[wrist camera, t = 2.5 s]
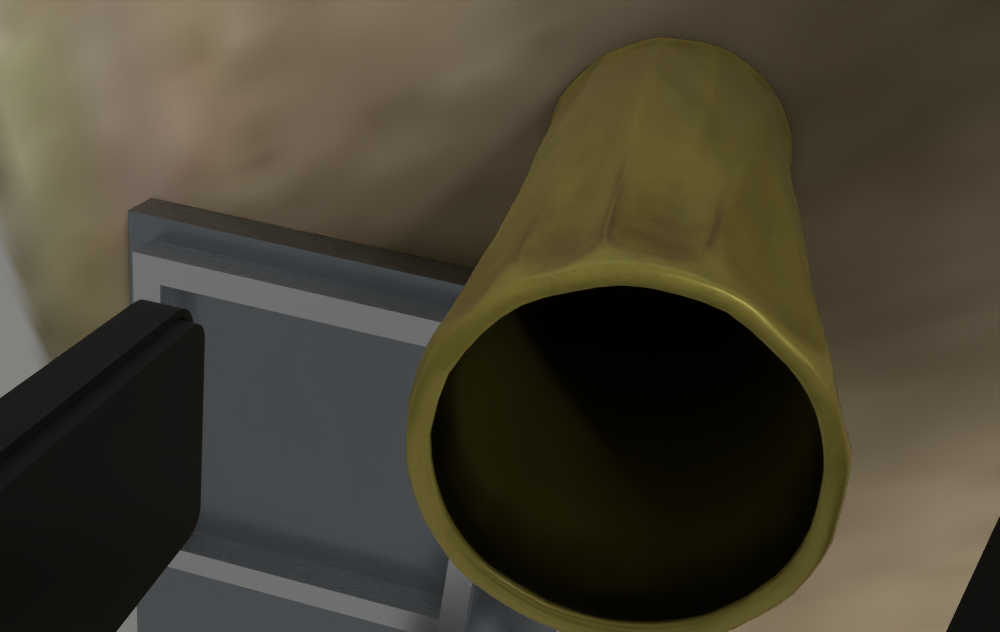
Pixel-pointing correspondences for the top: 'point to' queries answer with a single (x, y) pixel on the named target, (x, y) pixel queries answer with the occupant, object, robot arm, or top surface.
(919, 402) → the top surface
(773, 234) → the vase
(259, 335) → the bed
